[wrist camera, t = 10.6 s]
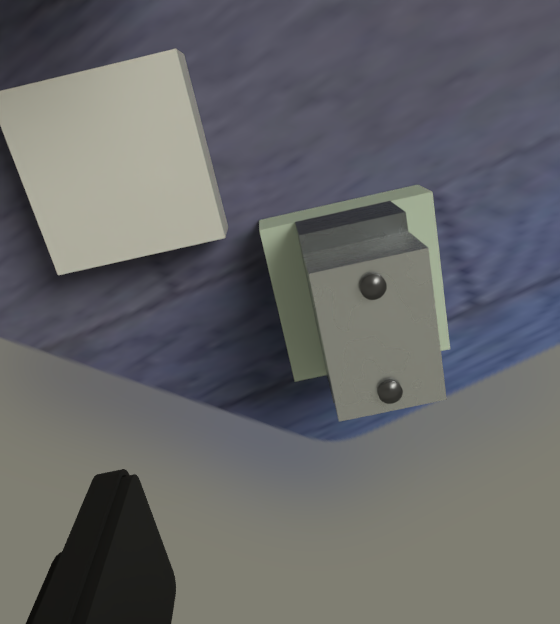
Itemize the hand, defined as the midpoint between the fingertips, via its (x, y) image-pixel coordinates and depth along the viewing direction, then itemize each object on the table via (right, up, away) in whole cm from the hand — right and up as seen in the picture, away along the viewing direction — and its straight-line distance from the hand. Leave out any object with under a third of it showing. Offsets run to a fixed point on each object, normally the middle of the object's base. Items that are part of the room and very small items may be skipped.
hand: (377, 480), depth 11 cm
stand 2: (+3, +6, +24) cm, 25 cm away
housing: (+3, +4, +22) cm, 22 cm away
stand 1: (-11, +12, +21) cm, 27 cm away
